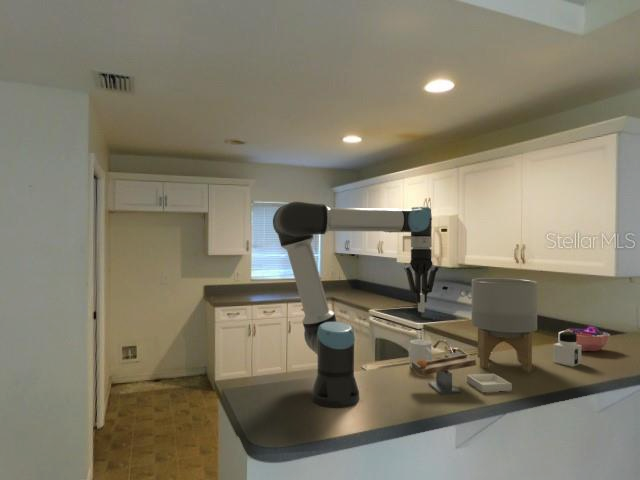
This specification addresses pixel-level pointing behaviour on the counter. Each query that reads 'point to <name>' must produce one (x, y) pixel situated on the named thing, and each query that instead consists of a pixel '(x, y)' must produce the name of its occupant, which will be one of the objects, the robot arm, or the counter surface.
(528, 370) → the planter
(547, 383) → the counter surface
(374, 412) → the counter surface
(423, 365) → the ball
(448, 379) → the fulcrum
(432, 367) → the plank
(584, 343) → the cell model
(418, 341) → the mug
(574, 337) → the container
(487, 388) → the dish
